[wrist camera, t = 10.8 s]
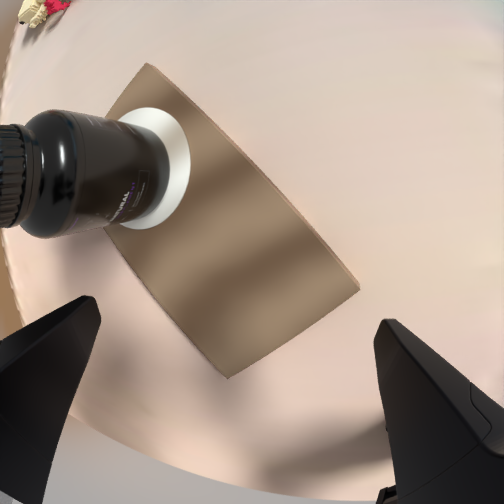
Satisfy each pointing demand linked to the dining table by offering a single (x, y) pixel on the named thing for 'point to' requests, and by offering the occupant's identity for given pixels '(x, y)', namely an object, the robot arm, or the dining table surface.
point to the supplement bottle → (78, 173)
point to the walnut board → (223, 238)
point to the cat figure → (38, 10)
